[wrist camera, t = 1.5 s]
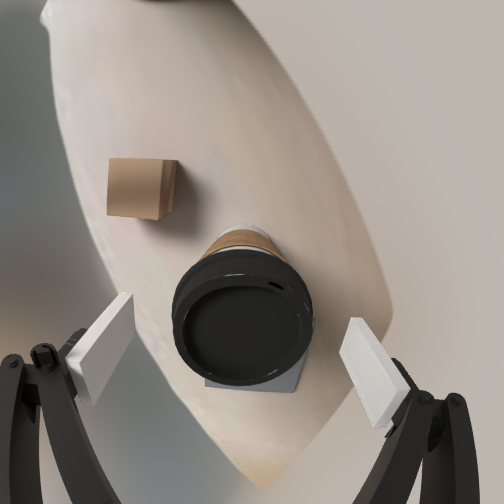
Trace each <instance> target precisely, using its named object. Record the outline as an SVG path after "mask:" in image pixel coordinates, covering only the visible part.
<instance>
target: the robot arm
mask: <svg viewBox="0 0 504 504" xmlns="http://www.w3.org/2000/svg"><path fill="white" fill-rule="evenodd" d="M135 333H136V329H135V318H134V305H133V294H130V293H125V292H121V293H120V294H119V295H118V296H117V297H116V298H115V300H114V301H113V302H112V303H111V304H110V305H109V306H108V307H107V309H106V310H105V311H104V312H103V313H102V314H101V316H100V317H99V318H98V319H97V320H96V321H95V322H94V324H93V325H92V326H91V327H90V328H89V329H84V328H82V329H80V330H78V331H76V332H75V333H74V334H73V335H72V336H71V337H70V339H69V340H68V341H67V342H66V344H64V345H63V346H62V348H61V349H60V350H59V351H58V352H57V351H56V349H55V347H54V346H53V345H51V344H48V343H42V344H38V345H36V346H35V347H33V348H32V350H31V353H30V355H31V358H32V361H33V363H34V365H32V364H25V363H24V360H23V358H22V357H21V356H20V355H17V354H10V355H8V356H6V357H5V358H4V359H3V360H2V363H1V366H0V504H43V500H42V492H41V483H40V469H39V423H40V407H41V406H42V411H43V416H44V421H45V425H46V429H47V433H48V437H49V440H50V444H51V447H52V451H53V454H54V457H55V460H56V463H57V466H58V469H59V472H60V474H61V477H62V480H63V482H64V485H65V487H66V490H67V492H68V494H69V497H70V499H71V501H72V503H73V504H121V502H120V500H119V499H118V497H117V495H116V494H115V492H114V490H113V488H112V487H111V485H110V483H109V481H108V479H107V477H106V475H105V473H104V471H103V469H102V467H101V465H100V463H99V461H98V459H97V457H96V454H95V452H94V450H93V448H92V445H91V444H90V441H89V438H88V436H87V433H86V431H85V428H84V426H83V423H82V420H81V418H80V415H79V412H78V409H77V406H76V403H75V401H74V398H75V396H76V395H77V394H78V397H79V399H80V401H81V402H83V403H86V404H89V405H92V406H94V405H95V403H96V401H97V400H98V398H99V396H100V394H101V392H102V390H103V389H104V386H105V385H106V383H107V381H108V380H109V378H110V376H111V374H112V372H113V371H114V369H115V367H116V365H117V364H118V362H119V360H120V358H121V357H122V355H123V353H124V351H125V350H126V348H127V346H128V345H129V343H130V341H131V340H132V338H133V336H134V334H135ZM339 354H340V356H341V358H342V360H343V362H344V364H345V367H346V369H347V371H348V373H349V375H350V377H351V380H352V382H353V384H354V386H355V388H356V391H357V393H358V395H359V397H360V400H361V402H362V404H363V406H364V409H365V411H366V413H367V415H368V417H369V420H370V422H371V425H372V427H373V429H375V428H381V427H386V426H387V424H388V423H389V421H390V420H391V419H392V421H393V423H394V425H393V426H392V428H391V429H390V430H389V432H388V433H387V434H386V436H385V438H386V437H387V439H386V441H385V443H384V445H383V448H382V450H381V452H380V454H379V456H378V458H377V460H376V462H375V464H374V466H373V468H372V470H371V472H370V474H369V476H368V478H367V480H366V482H365V483H364V485H363V487H362V488H361V490H360V492H359V494H358V495H357V497H356V499H355V500H354V502H353V503H352V504H406V503H407V500H408V498H409V495H410V493H411V490H412V487H413V485H414V482H415V479H416V476H417V473H418V470H419V467H420V464H421V461H422V458H423V461H422V462H423V464H422V483H421V493H420V503H419V504H480V492H479V476H478V465H477V457H476V450H475V443H474V437H473V432H472V426H471V422H470V417H469V412H468V408H467V404H466V401H465V399H464V398H463V396H461V395H460V394H457V393H450V394H448V396H447V397H446V399H445V400H439V399H434V396H433V395H431V394H430V393H429V392H427V391H423V390H419V389H418V387H417V386H416V384H415V383H414V381H413V380H412V378H411V377H410V375H408V373H407V371H406V370H405V368H404V367H403V365H402V364H401V363H400V362H399V361H398V360H396V359H395V358H390V357H389V356H388V354H387V353H386V351H385V350H384V348H383V347H382V345H381V344H380V342H379V341H378V340H377V338H376V337H375V335H374V334H373V332H372V331H371V330H370V328H369V327H368V325H367V324H366V323H365V321H364V320H363V318H362V317H351V319H350V322H349V325H348V328H347V331H346V334H345V337H344V340H343V343H342V346H341V349H340V351H339Z"/></svg>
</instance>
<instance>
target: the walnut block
mask: <svg viewBox="0 0 504 504" xmlns="http://www.w3.org/2000/svg"><path fill="white" fill-rule="evenodd" d="M177 161H178V160H160V159H131V158H110V160H109V173H108V191H107V215H109V216H120V217H131V218H142V219H152V220H159V219H161V218H162V217H164V216H165V215H167V214H168V213H170V212H171V211H173V205H174V192H175V181H176V171H177Z"/></svg>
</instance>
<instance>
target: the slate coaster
mask: <svg viewBox="0 0 504 504" xmlns="http://www.w3.org/2000/svg"><path fill="white" fill-rule="evenodd" d="M312 323H313V328H314V324H315V320H314V319H312ZM307 349H308V348H307ZM306 352H307V350H306ZM306 352H305V353H304V354H303V356H302V357H301V359H300V360H299V361H298V362H297V363H296V364H295V365H294V366H293V367H292V368H290V369H289V370H288V371H286V372H285V373H284V374H282V375H280V376H278V377H276V378H275V379H273V380H270V381H267V382H264V383H261V384H257V385H251V386H229V385H223V384H219V383H215V382H212V381H210V380H208V379H206V378H205V386H206V387H214V388H223V389H233V390H245V391H260V392H284V393H293V392H294V389H295V386H296V383H297V380H298V377H299V374H300V371H301V368H302V365H303V362H304V358H305V355H306Z"/></svg>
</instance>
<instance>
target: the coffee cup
mask: <svg viewBox="0 0 504 504" xmlns="http://www.w3.org/2000/svg"><path fill="white" fill-rule="evenodd" d="M312 316H313V309H312V300H311V297H310V294H309V292H308V289H307V287H306V284H305V283H304V281H303V280H302V278H301V277H300V275H299V274H298V273H297V272H296V271H295V270H294V269H293V268H292V267H291V266H290V265H289V264H288V263H287V262H286V260H285V259H284V258H283V256H282V255H281V254H280V252H279V251H278V250H277V248H276V247H275V246H274V245H273V243H272V242H271V241H270V239H269V238H268V236H267V235H266V234H265V233H264V232H263V231H262V230H261V229H259V228H258V227H255V226H253V225H248V224H238V225H234V226H232V227H229V228H228V229H226V230H225V231H224V232H223V233H222V234H221V235H220V236H219V237H218V238H217V240H216V241H215V242H214V243H213V244H212V246H211V247H210V248H209V249H208V250H207V252H206V253H205V254H204V255H203V256H202V257H201V259H200V260H199V261H198V262H197V263H196V264H195V265H193V266H192V267H191V268H190V269H189V270H188V271H187V272H186V273H185V275H184V276H183V277H182V279H181V280H180V282H179V284H178V286H177V288H176V291H175V295H174V298H173V303H172V322H173V336H174V342H175V345H176V348H177V350H178V353H179V354H180V356H181V357H182V359H183V360H184V362H185V363H186V364H187V365H188V366H189V367H190V368H191V369H192V370H193V371H195V372H196V373H197V374H199V375H200V376H202V377H204V378H206V379H208V380H210V381H212V382H215V383H219V384H223V385H229V386H251V385H257V384H261V383H264V382H267V381H270V380H273V379H275V378H276V377H278V376H280V375H282V374H284V373H285V372H286V371H288V370H289V369H290V368H292V367H293V366H294V365H295V364H296V363H297V362H298V361H299V360H300V359H301V357H302V356H303V354H304V353H305V352H306V350H307V348H308V346H309V343H310V341H311V337H312V332H313V323H312Z"/></svg>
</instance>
